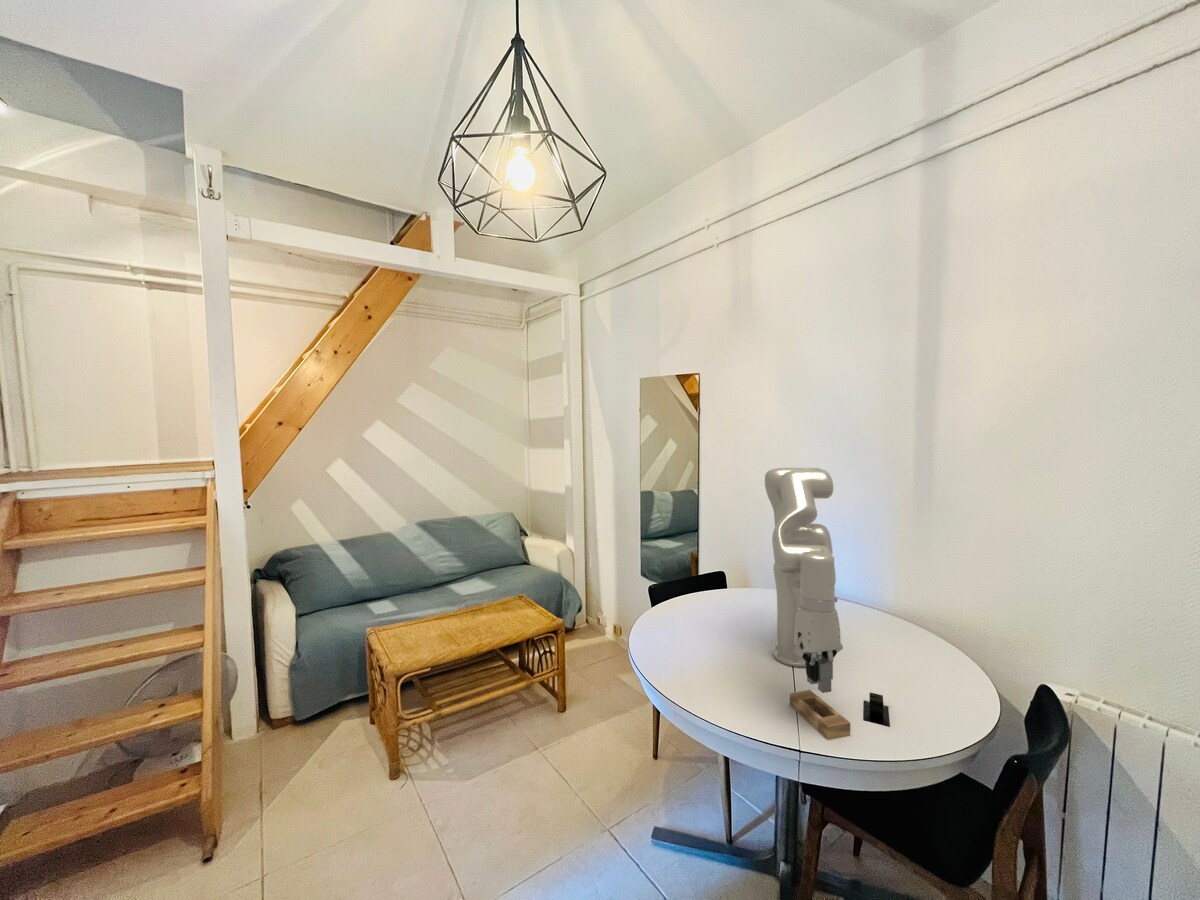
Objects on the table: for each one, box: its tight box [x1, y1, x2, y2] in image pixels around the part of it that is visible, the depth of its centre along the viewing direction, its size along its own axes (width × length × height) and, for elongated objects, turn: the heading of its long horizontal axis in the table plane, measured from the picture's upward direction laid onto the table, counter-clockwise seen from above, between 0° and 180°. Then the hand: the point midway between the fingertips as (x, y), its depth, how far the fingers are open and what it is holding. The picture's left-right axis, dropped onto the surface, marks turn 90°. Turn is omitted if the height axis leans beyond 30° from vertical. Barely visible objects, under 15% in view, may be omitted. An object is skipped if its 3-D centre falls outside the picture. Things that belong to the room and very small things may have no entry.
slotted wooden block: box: [789, 689, 851, 741], centre depth 111 cm, size 14×6×3 cm, turn 13°
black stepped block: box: [862, 691, 891, 728], centre depth 112 cm, size 12×7×5 cm, turn 149°
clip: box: [804, 652, 834, 694], centre depth 110 cm, size 6×3×7 cm, turn 13°
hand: (818, 677), depth 110 cm, fingers closed on clip, 3 cm apart
